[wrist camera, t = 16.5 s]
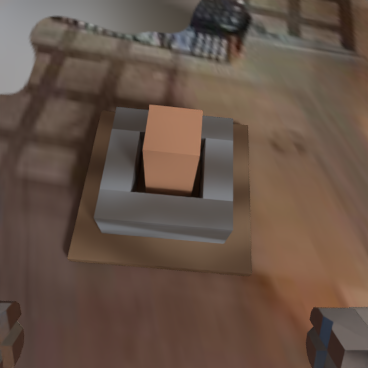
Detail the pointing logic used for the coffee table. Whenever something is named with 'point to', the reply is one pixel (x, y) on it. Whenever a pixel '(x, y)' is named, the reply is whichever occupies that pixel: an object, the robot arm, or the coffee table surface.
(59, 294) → the coffee table surface
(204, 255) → the well
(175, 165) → the post
